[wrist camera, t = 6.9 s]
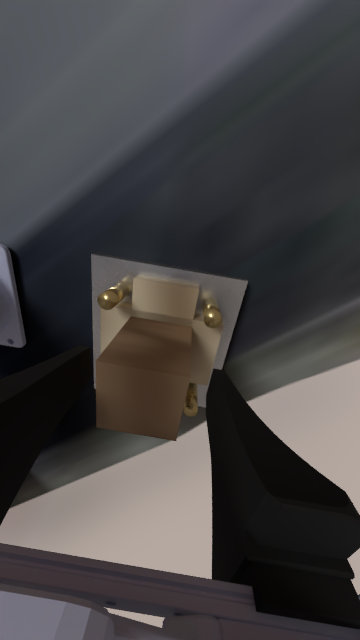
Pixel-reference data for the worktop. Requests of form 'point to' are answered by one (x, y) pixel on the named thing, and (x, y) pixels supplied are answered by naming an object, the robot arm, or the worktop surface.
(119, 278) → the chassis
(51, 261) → the worktop surface
